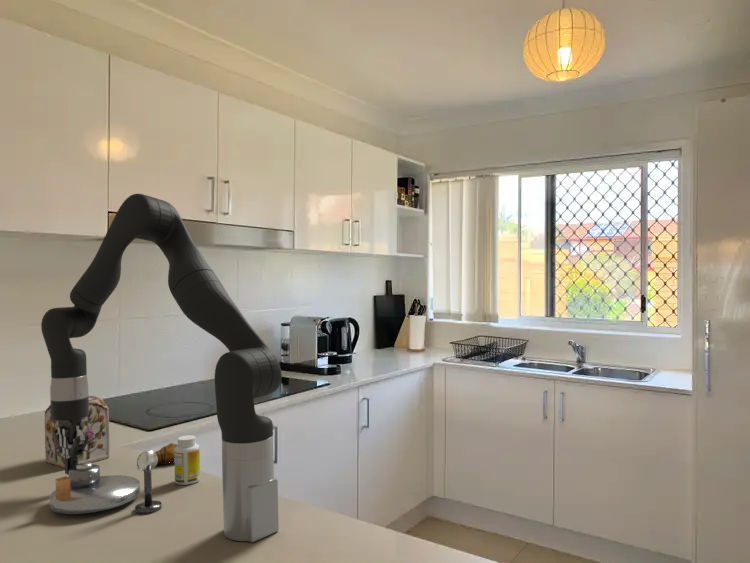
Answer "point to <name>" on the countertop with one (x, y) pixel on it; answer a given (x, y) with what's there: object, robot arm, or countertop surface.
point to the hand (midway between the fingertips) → (71, 473)
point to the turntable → (93, 495)
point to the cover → (84, 475)
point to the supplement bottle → (187, 460)
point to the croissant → (166, 454)
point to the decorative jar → (92, 425)
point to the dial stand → (147, 482)
